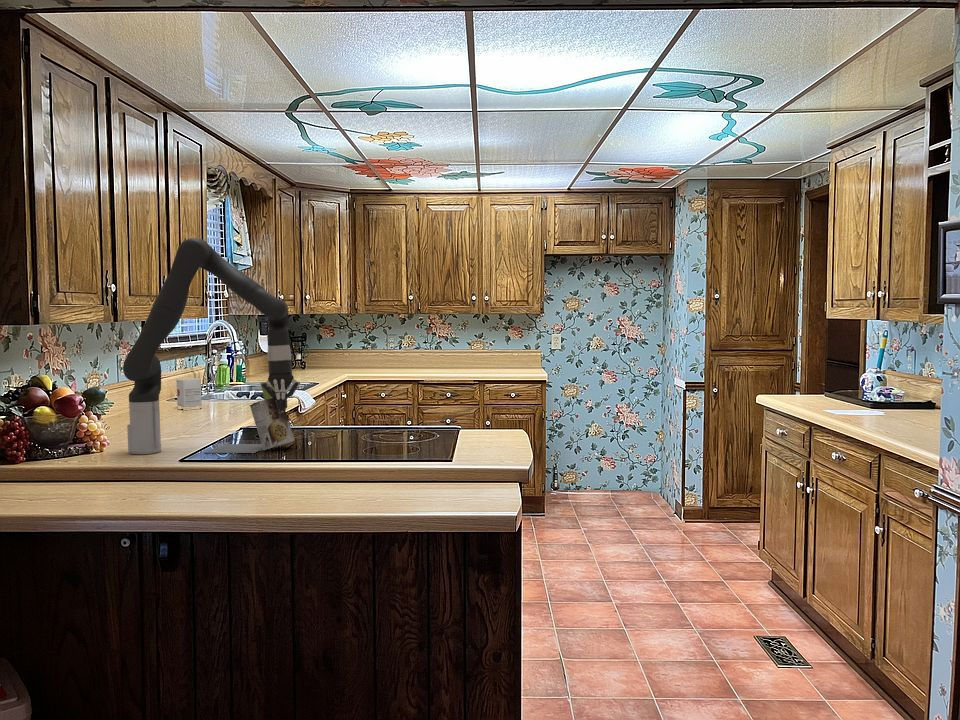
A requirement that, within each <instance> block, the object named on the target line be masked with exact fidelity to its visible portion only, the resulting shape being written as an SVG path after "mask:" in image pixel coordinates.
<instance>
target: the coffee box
mask: <svg viewBox="0 0 960 720" xmlns="http://www.w3.org/2000/svg"><path fill="white" fill-rule="evenodd" d="M249 407H250V411H251V413H252V417H253V420H254V424H255V427H256V429H257V433H258V437H259V440H260V444H262V447H263V450H262V451H266V450H267V449H268V450H272V449H275V448H278V447H281V446H285V445H288V444H290V443H293V442H295V441H296V440H295V437H294V435H293V429H292V427H291V424H290V420H289V418H288V414H287V411H286V410H283V411H280V409H278V403H277V399H276V398H271V399H266V400H264V399H263V400H258V401H256V402H253V403H251V404H249ZM271 448H272V449H271Z"/></svg>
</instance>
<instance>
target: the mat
mask: <svg viewBox="0 0 960 720" xmlns="http://www.w3.org/2000/svg"><path fill="white" fill-rule="evenodd" d="M262 449H263V447H262V444H261V443H249V444H248V443H224V444H222V445H219V446H217V447H215V448H212V449H210V450H207V451H205V452H204V453H256V452H258V451H260V452H261V450H262ZM262 451H263V450H262ZM258 453H259V452H258ZM256 454H257V453H256Z"/></svg>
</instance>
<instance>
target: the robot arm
mask: <svg viewBox="0 0 960 720" xmlns="http://www.w3.org/2000/svg"><path fill="white" fill-rule="evenodd" d="M200 268H201V269H203V270H204V271H207V272H209V273H210V274H212V275H213V276H214V277H216V278H217V279H219V280H220V281H221V282H222V283H223V284H224V285H226V287H227V288H228V289H230V290H231V292H233V293H234V294H235V295H236V296H238V297H239V298H241V299H242V300H244V301H245V302H247V304H250V305H252V306H253V307H254V308H255V309H257V310H258V311H259V312H260V313H261V314H263V315H264V316H265V317H266V318H267V324H268V325H267V326H268V329H267V334H266V335H267V336H266V337H267V364H268V377H267V380H266V381H265V383H263V384H262V386H263V388H264V389H265V390H266V391H267V392H268V393H269V395H270V396H271V397H272V398H276V399H277V403H278V409H280V411H283V410H285V411H286V410H287V409H288V398H291V397H293V396H294V393H295V392H296V391H297V389H298V388H299V387H300V385H301V382H300V381H297V380H296V379H295V378H294V375H293V369H292V367H293V364H292V351H291V347H290V335H289V334H290V333H289V307H288V305H287V302H285V300H282V299H280V298H278V297H276V296H274V295H273V294H271V293H270V292H269V291H267V290H266V289H265V288H264V287H263V286H262V285H261V284H259V283H258V282H256V281H255V280H254V279H252V278H251V277H249V276H248V275H246V274H245V273H243V272H242V271H241V270H239V269H238V268H236V267H234V265H232V264H231V263H229V262H228V261H227V260H226V259H225V258H223V257H222V256H221V255H220V254H219V253H218V252H217V251H216V250H215V249H214V248H213V247H212V246H211V244H209V243H208V242H207V241H206V240H205V239H201V238H195V237H193V238H187V239H184V240H183V241H182V242H181V243H180V244H179V245H178V247H177V250H176V253H175V257H174V258H173V262H172V265H171V268H170V270H169V272H168V276H167V277H166V279H165V281H164V282H163V284H162V286H161V288H160V290H159V292H158V294H157V296H156V298H155V300H154V302H153V305H152V307H151V308H150V311H149V314H148V316H147V319H146V320H145V322H144V325H143V326H142V329H141V331H140V334H139V335H138V337H137V339H136V340H135V342H134V343H133V346H132V347H131V349H130V350H129V352H128V354H127V356H126V357H125V359H124V361H123V363H122V364H123V365H122V372H123V375H124V377H125V378H126V379H127V380H129V381H131V382H134V384H133V385H134V386H133V387H132V390H131V391H130V392H129V394H128V411H129V424H127V426H126V431H127V449H128V454H132V455H148V454H149V455H150V454H157V453H160V452H161V451H162V439H161V438H162V437H161V411H160V393H161V390H162V364H161V361H160V359H159V357H158V356H157V355H156V353H157V351H158V349H159V348H160V346H161V344H162V343H163V342H164V341H165V339H166V338H168V337H169V335H170V334H171V333H172V332H173V331H174V330H175V328H176V327H177V325H178V323H179V322H180V320H181V317H182V316H183V313H184V311H185V309H186V305H187V302H188V297H189V292H190V287H191V285H192V281H193V279H194V277H195V276H196V275H197V272H198V271H199V269H200ZM270 383H271V384H270ZM271 385H272V386H273V387H274V388H275V391H274V390H273V389H272V388H271ZM290 386H291V387H290ZM289 388H290V389H289Z"/></svg>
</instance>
